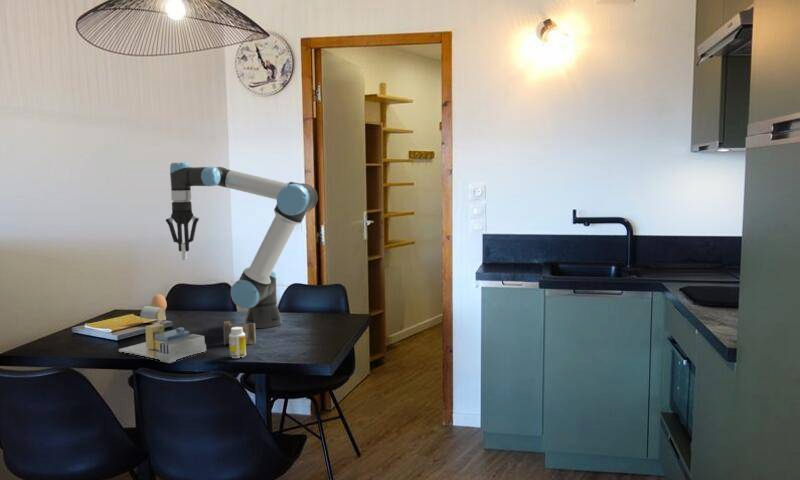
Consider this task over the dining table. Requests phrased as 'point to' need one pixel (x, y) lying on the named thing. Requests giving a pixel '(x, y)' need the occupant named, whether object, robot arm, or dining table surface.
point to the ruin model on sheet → (247, 329)
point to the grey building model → (170, 346)
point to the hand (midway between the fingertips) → (184, 259)
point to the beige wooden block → (150, 333)
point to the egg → (159, 301)
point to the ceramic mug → (153, 313)
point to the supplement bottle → (237, 342)
